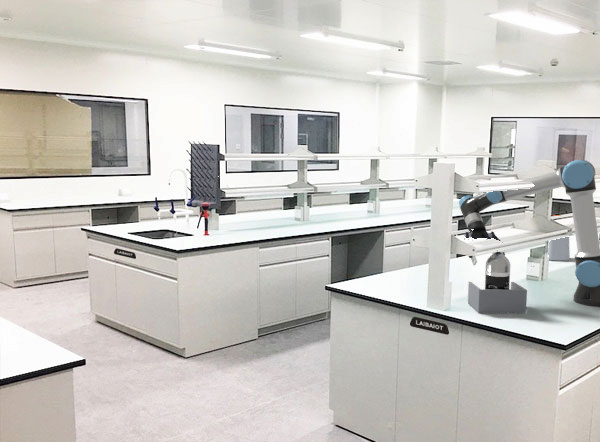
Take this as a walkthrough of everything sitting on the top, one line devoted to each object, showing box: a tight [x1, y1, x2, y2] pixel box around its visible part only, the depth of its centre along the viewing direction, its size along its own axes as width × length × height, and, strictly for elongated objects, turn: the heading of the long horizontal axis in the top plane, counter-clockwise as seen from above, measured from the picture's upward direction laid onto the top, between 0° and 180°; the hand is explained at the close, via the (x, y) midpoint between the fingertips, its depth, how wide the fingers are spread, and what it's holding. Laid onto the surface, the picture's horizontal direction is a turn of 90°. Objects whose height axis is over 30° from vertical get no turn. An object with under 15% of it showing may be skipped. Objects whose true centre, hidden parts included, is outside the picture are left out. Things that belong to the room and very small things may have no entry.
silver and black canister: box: [484, 251, 511, 289], centre depth 243 cm, size 10×10×25 cm
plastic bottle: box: [548, 214, 571, 262], centre depth 358 cm, size 15×15×28 cm
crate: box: [467, 281, 528, 314], centre depth 244 cm, size 20×16×10 cm
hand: (489, 263), depth 247 cm, fingers open, 13 cm apart
